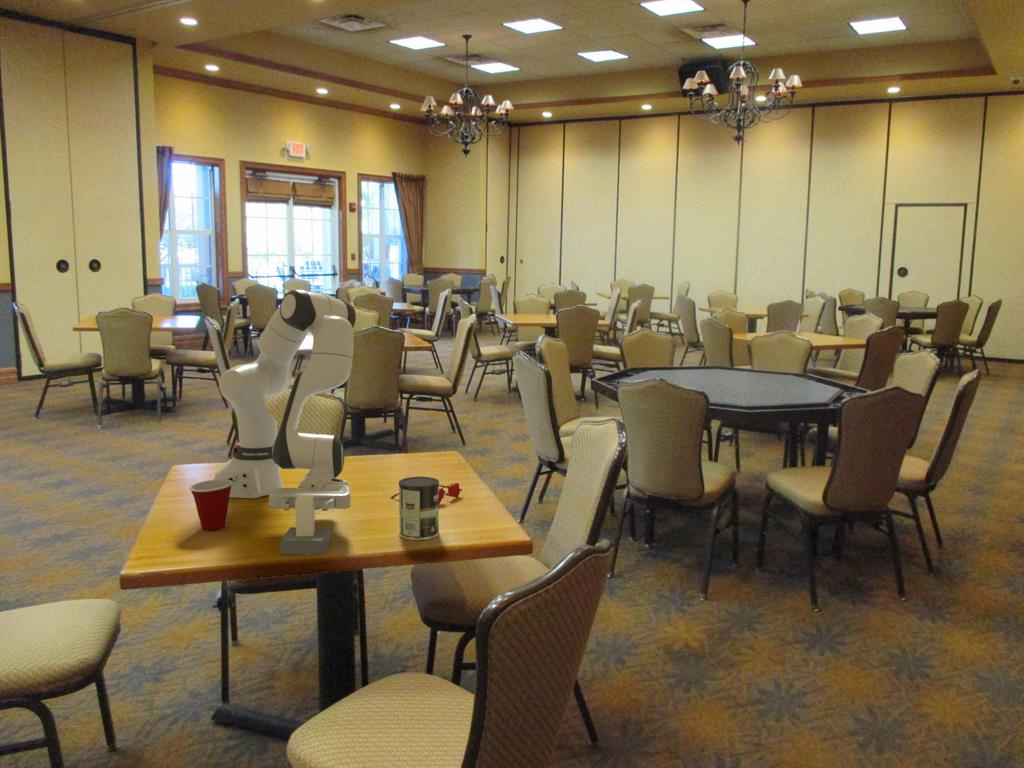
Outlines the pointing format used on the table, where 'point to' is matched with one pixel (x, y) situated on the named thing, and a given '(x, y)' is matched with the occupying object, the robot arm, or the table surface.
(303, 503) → the cream block
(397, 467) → the table surface
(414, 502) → the coffee can
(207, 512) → the plastic cup
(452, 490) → the glasses
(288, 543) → the gray square block
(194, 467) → the table surface
